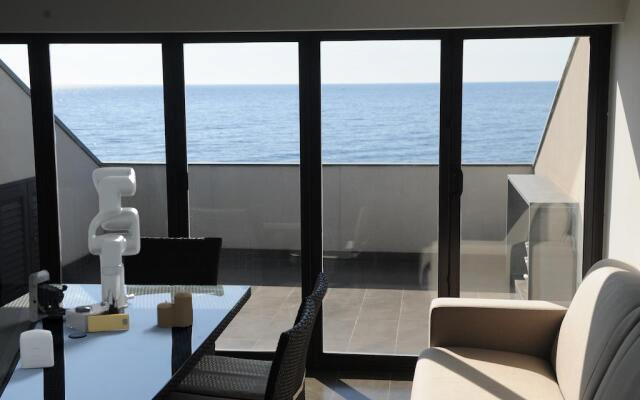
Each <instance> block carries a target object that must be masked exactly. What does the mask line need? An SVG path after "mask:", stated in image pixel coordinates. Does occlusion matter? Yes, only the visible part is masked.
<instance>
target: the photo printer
mask: <svg viewBox="0 0 640 400" xmlns="http://www.w3.org/2000/svg"><path fill="white" fill-rule="evenodd" d="M53 341H54V340H53V335H52V332H51V331H50V330H48V329H47V330H46V329H31V330H30V329H29V330H26V331H24V332H21V333H20V337H19V350H20V367H21V369H36V368H38V369H39V368H50V367H51V368H52V367H54V365H55V361H54V359H55V358H54V357H55V356H54V342H53Z"/></svg>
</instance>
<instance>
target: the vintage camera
mask: <svg viewBox="0 0 640 400" xmlns="http://www.w3.org/2000/svg"><path fill="white" fill-rule="evenodd" d="M68 287H69V286H68V285H66V284H62V285H61V288H59V287H58V286H55V285H52V284H50V273H49V271H48V270H46V269H42V270H41V271H38V272H37V271H36V272H32V273H31V274H30V275H29V277H28V311H29V312H28V314H29V317H28V319H29V320H30V322H32V323H36V322H39V321H40V320H42V318H43V319H44V318H45V319H46V317H48V316H61V317H62V316H65V317H66V310H68V309H69V308H65V307H62V306H60V304H61V303H62V302H63V301H64V298H65V293H64V292H66V291H67V290H68Z"/></svg>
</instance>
